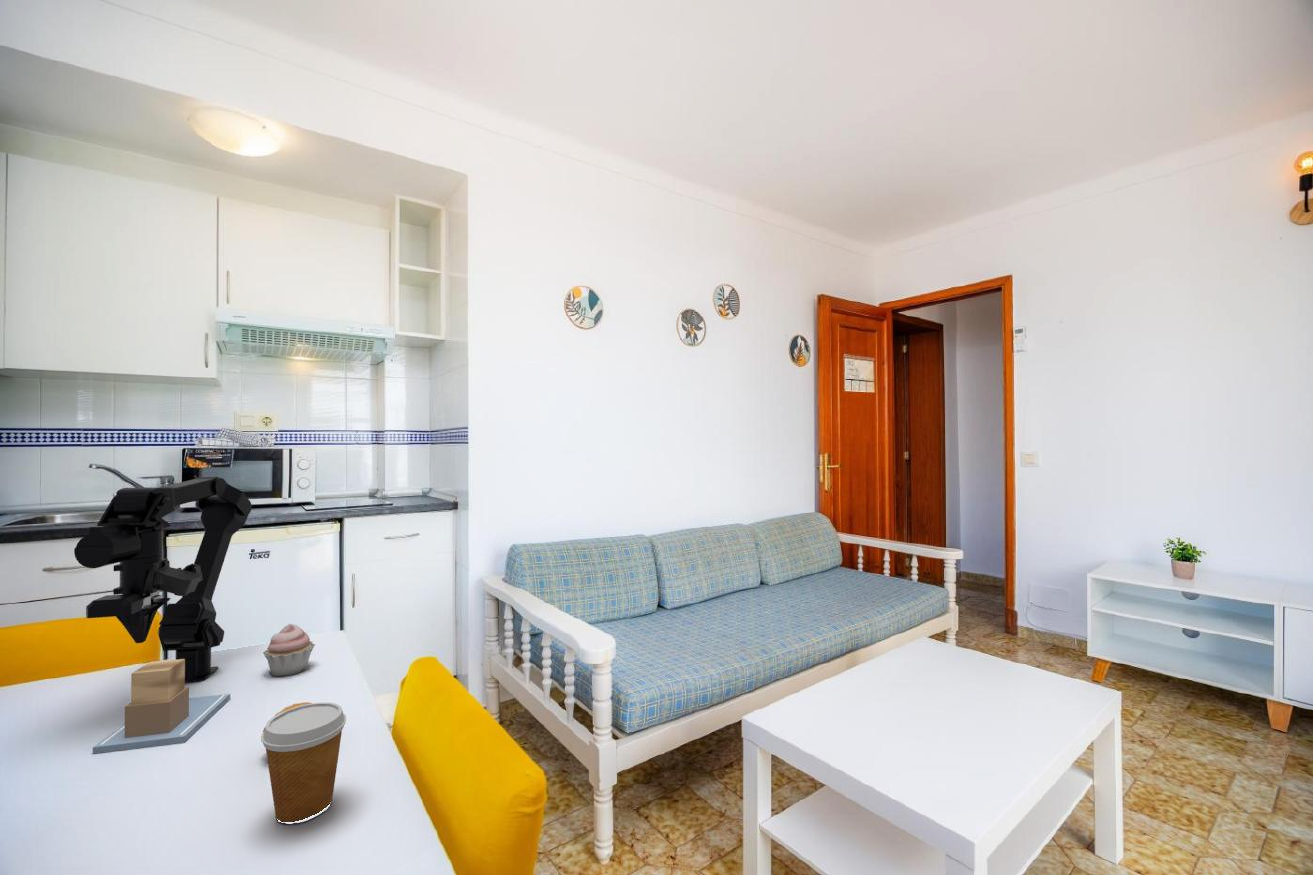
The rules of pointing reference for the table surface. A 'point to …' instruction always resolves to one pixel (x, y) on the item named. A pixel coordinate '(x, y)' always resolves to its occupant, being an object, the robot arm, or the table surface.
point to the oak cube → (157, 681)
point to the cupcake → (289, 651)
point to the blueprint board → (169, 737)
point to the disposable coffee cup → (303, 758)
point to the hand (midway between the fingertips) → (140, 642)
